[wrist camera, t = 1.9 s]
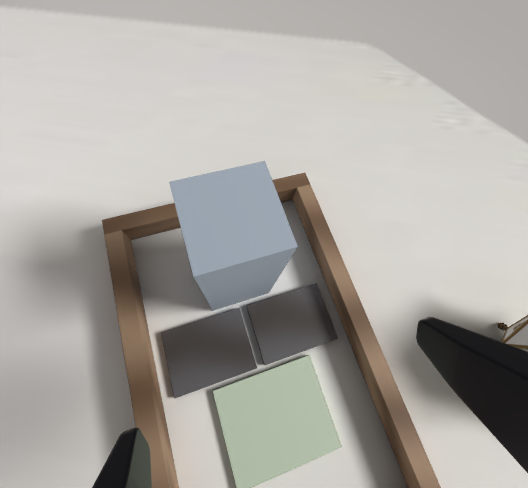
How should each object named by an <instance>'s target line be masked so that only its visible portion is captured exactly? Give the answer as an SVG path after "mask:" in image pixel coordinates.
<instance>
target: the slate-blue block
mask: <svg viewBox="0 0 528 488" xmlns="http://www.w3.org/2000/svg"><path fill="white" fill-rule="evenodd" d="M169 183H170V187H171V191H172V195H173V199H174V203H175V207H176V210H177V214H178V218H179V222H180V226H181V230H182V234H183V238H184V242H185V246H186V250H187V253H188V257H189V261H190V265H191V269H192V273H193V277H194V279H195V280H196V282H197V284H198V286H199V287H200V289H201V291H202V293H203V294H204V296H205V298H206V300H207V301H208V303H209V305H210V307H211V309H212V310H217V309H220V308H223V307H226V306H229V305H232V304H236V303H239V302H242V301H245V300H248V299H251V298H255V297H258V296H261V295H264V294H267V293H269V292H270V290H271V289H272V287H273V285H274V284H275V282H276V281H277V279H278V277H279V276H280V274H281V273H282V271H283V269H284V268H285V266H286V265H287V263H288V261H289V260H290V258H291V257H292V255H293V254H294V252H295V250H296V249H297V247H298V246H297V243H296V241H295V238H294V236H293V233H292V230H291V228H290V225H289V223H288V220H287V217H286V215H285V212H284V210H283V207H282V204H281V202H280V199H279V197H278V194H277V191H276V189H275V186H274V184H273V181H272V178H271V176H270V173H269V171H268V168H267V165H266V163H265V161H263V162H258V163H253V164H249V165H244V166H240V167H235V168H231V169H226V170H221V171H217V172H212V173H208V174H203V175H199V176H194V177H189V178H185V179H180V180H176V181H171V182H169Z"/></svg>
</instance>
